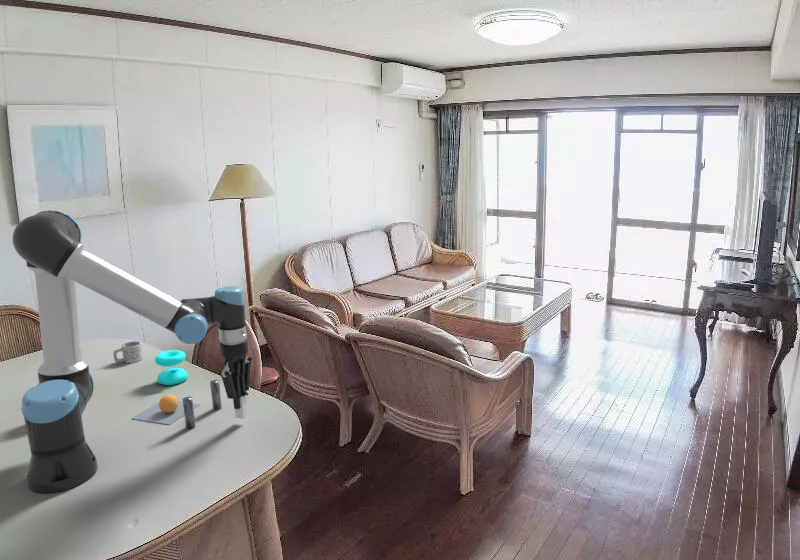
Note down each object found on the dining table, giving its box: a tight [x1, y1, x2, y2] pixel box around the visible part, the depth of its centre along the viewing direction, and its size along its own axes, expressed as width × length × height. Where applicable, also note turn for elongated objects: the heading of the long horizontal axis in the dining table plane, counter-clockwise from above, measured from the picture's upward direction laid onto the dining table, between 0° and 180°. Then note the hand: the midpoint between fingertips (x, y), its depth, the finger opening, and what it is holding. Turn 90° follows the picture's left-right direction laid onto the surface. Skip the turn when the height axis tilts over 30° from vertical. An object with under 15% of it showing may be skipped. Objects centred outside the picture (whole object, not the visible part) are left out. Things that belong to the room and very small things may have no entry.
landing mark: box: [130, 400, 201, 426], centre depth 178 cm, size 14×14×1 cm
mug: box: [113, 340, 144, 364], centre depth 221 cm, size 10×7×7 cm
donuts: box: [154, 349, 189, 386], centre depth 201 cm, size 10×10×10 cm
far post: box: [209, 379, 223, 411], centre depth 178 cm, size 3×3×9 cm
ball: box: [158, 394, 179, 413], centre depth 177 cm, size 6×6×6 cm
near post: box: [182, 396, 196, 430], centre depth 167 cm, size 3×3×9 cm
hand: (240, 417), depth 169 cm, fingers closed
